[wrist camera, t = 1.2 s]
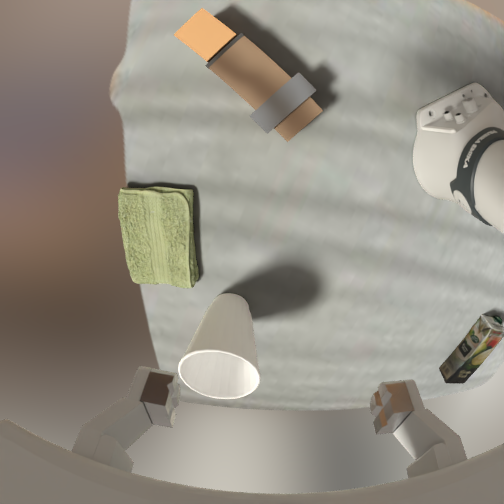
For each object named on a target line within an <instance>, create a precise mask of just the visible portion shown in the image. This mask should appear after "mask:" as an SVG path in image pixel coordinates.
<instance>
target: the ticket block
mask: <svg viewBox="0 0 504 504" xmlns="http://www.w3.org/2000/svg"><path fill="white" fill-rule="evenodd" d="M206 67H207V68H209V69H210V70H212V71H213V72H214V73H215V74H216V75H217V76H219V77H220V78H221V79H222V80H223V81H224V82H225V83H227V84H228V85H229V86H230V87H231V88H232V89H233V90H234V91H236V92H237V93H238V94H239V95H240V96H241V97H242V98H243V99H244V100H245V101H246V102H247V103H249V104H250V105H251V106H252V107H253V108H254V109H255V110H256V111H254V112H253V113H252V114H251V115H250V117H251V118H252V119H253V120H254V121H255V122H256V123H257V124H258V125H259V126H260V127H261V128H262V129H263V130H264V131H265V132H266V133H267V134H268V133H269V132H270V131H271V130H272V129H273V128H274V129H275V130H276V131H277V132H278V133H279V134H280V135H281V136H282V137H283V138H284V139H285V140H286V141H287V142H288V141H289V140H290V139H291V138H293V137H294V136H295V135H296V134H297V133H298V132H299V131H300V130H302V129H303V128H304V127H305V126H306V125H307V124H308V123H310V122H311V121H312V120H313V119H314V118H315V117H316V116H318V115H319V114H320V113H321V112H322V111H323V110H322V109H321V108H320V107H319V106H318V105H317V104H316V103H315V101H314V100H313V99H312V98H311V97H310V96H311V95H312V94H313V93H314V92H315V91H316V89H315V88H314V87H313V86H312V85H311V84H310V83H309V82H308V81H307V80H306V79H305V78H304V77H303V76H302V75H301V74H300V73H299V72H298V73H297V74H296V75H295V76H294V77H292V78H291V77H290V76H289V75H288V74H287V73H286V72H285V71H284V70H283V69H281V68H280V67H279V66H278V65H277V64H276V63H275V62H274V61H273V60H272V59H271V58H269V57H268V56H267V55H266V54H265V53H264V52H263V51H262V50H260V49H259V48H258V47H257V46H256V45H255V44H253V43H252V42H251V41H250V40H249V39H248V38H246V37H245V36H244V35H243V34H242V33H240V34H239V35H238V36H237V37H236V38H235V39H233V40H232V41H231V42H230V43H229V44H228V45H227V46H226V47H225V48H223V49H222V50H221V51H220V52H219V53H218V54H217V55H216V56H215V57H214V58H213V59H212V60H211V61H210V62H209V63H208V64H207V65H206Z"/></svg>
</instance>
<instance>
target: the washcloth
mask: <svg viewBox="0 0 504 504" xmlns="http://www.w3.org/2000/svg"><path fill="white" fill-rule="evenodd" d="M193 195H194V193H193V190H192V189H191V190H184V189H174V188H167V187H148V188H124V187H123V188H121V189H120V193H119V195H118V198H119V199H118V203H119V205H118V207H119V212H118V214H119V219H120V221H121V222H120V224H121V228H122V237H123V242H124V248H125V252H126V261H127V265H128V268H129V270H130V275H131V278H132V280H133V281H134V282H135V283H138V284H147V283H148V284H159V283H165V284H167V283H168V284H171V285H172V286H176V287H177V286H178V287H181V288H193V287H194V285H195V282H196V281H197V279H198V278H199V275H198V269H199V268H198V265H197V260H196V255H195V243H194V234H193V233H194V229H193V228H194V225H193V207H192V205H193Z"/></svg>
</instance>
